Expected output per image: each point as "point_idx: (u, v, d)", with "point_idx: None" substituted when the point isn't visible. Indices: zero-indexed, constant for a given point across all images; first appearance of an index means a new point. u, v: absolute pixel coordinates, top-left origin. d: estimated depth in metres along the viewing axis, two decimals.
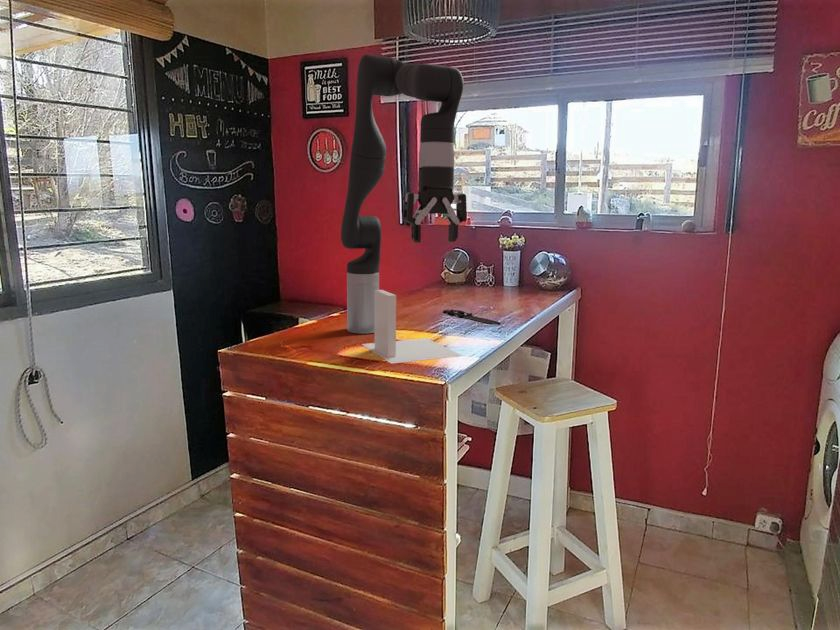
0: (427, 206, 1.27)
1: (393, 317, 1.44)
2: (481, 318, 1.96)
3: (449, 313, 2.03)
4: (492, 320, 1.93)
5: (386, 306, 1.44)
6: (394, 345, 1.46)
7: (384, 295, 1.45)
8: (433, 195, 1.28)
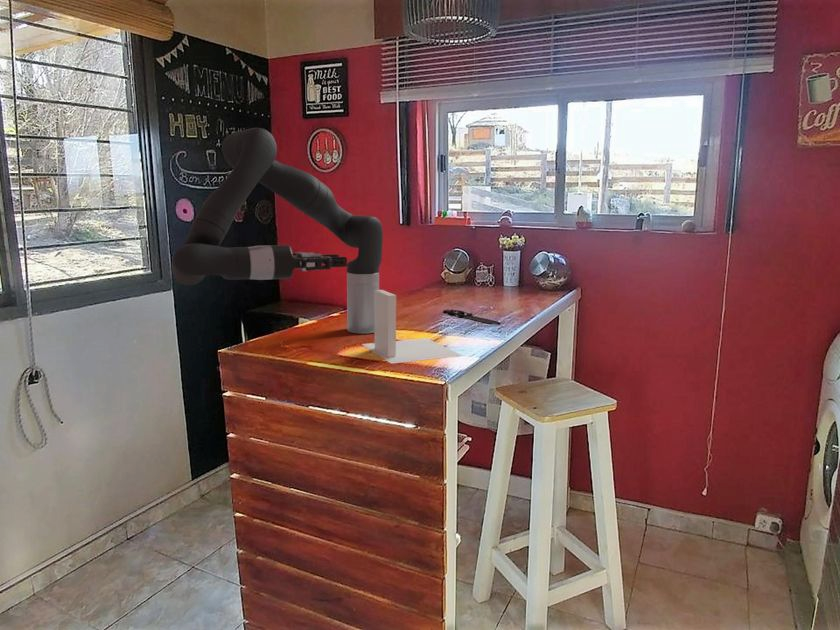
0: None
1: (393, 317, 1.44)
2: (481, 318, 1.96)
3: (449, 313, 2.03)
4: (492, 320, 1.93)
5: (386, 306, 1.44)
6: (394, 345, 1.46)
7: (384, 295, 1.45)
8: None
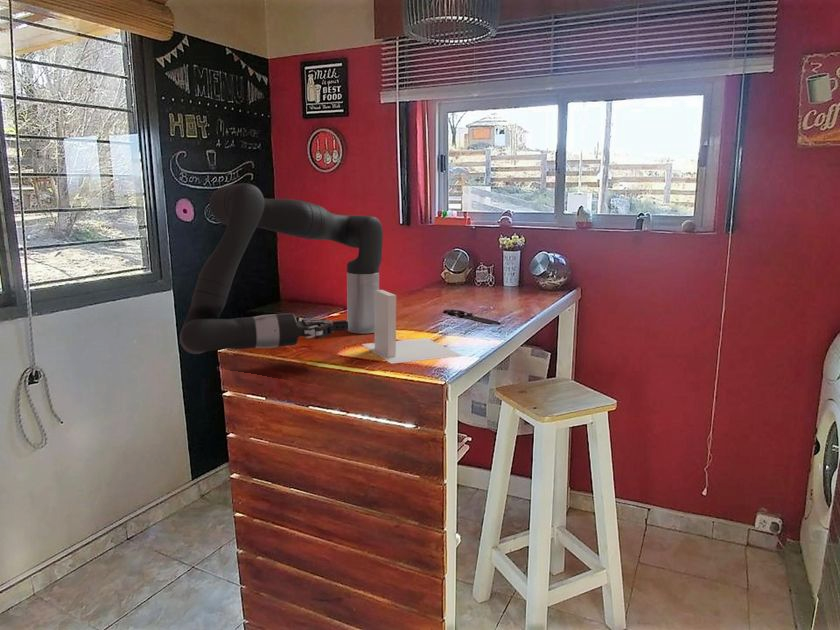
0: None
1: (393, 317, 1.44)
2: (481, 318, 1.96)
3: (449, 313, 2.03)
4: (492, 320, 1.93)
5: (386, 306, 1.44)
6: (394, 345, 1.46)
7: (384, 295, 1.45)
8: None
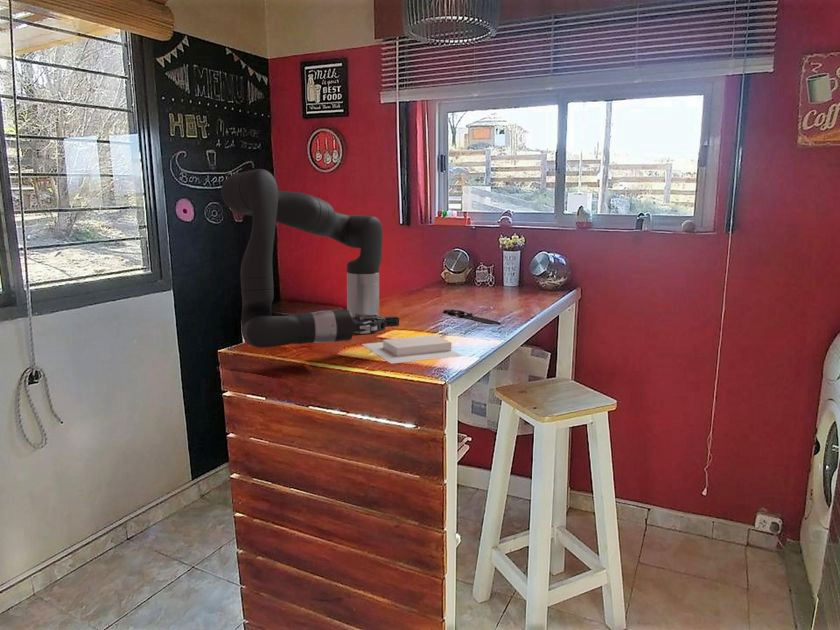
0: None
1: (432, 349, 1.50)
2: (481, 318, 1.96)
3: (449, 313, 2.03)
4: (492, 320, 1.93)
5: (440, 342, 1.52)
6: (407, 353, 1.47)
7: (445, 340, 1.54)
8: None
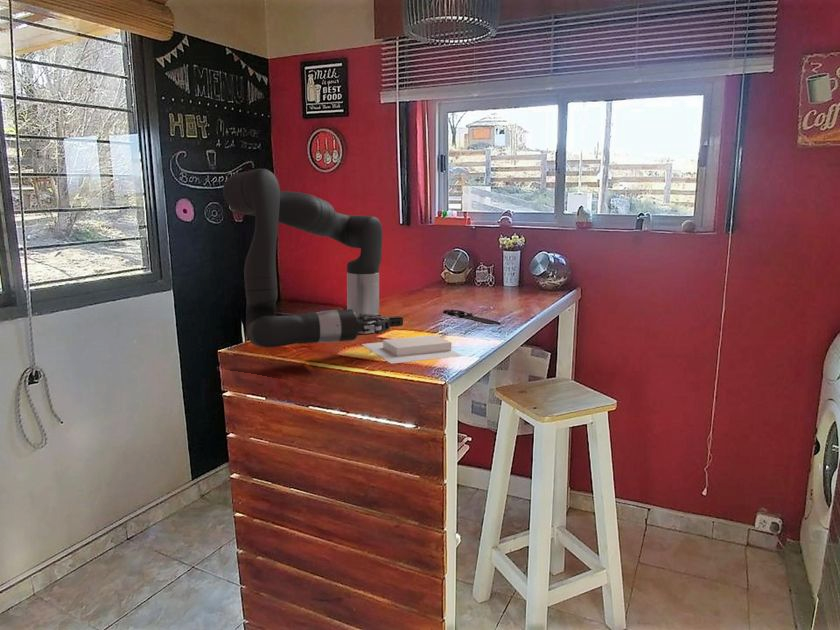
0: None
1: (432, 349, 1.50)
2: (481, 318, 1.96)
3: (449, 313, 2.03)
4: (492, 320, 1.93)
5: (440, 342, 1.52)
6: (407, 353, 1.47)
7: (445, 340, 1.54)
8: None
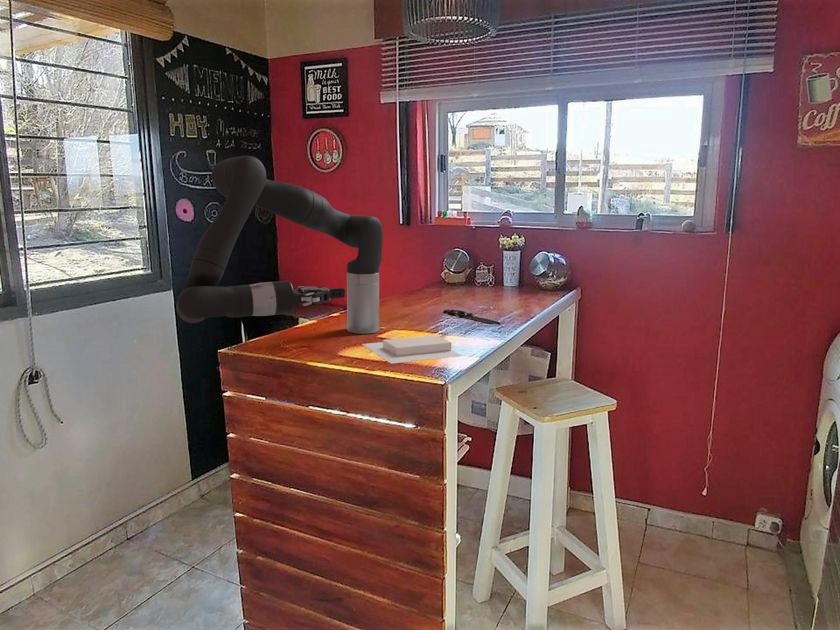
0: None
1: (432, 349, 1.50)
2: (481, 318, 1.96)
3: (449, 313, 2.03)
4: (492, 320, 1.93)
5: (440, 342, 1.52)
6: (407, 353, 1.47)
7: (445, 340, 1.54)
8: None
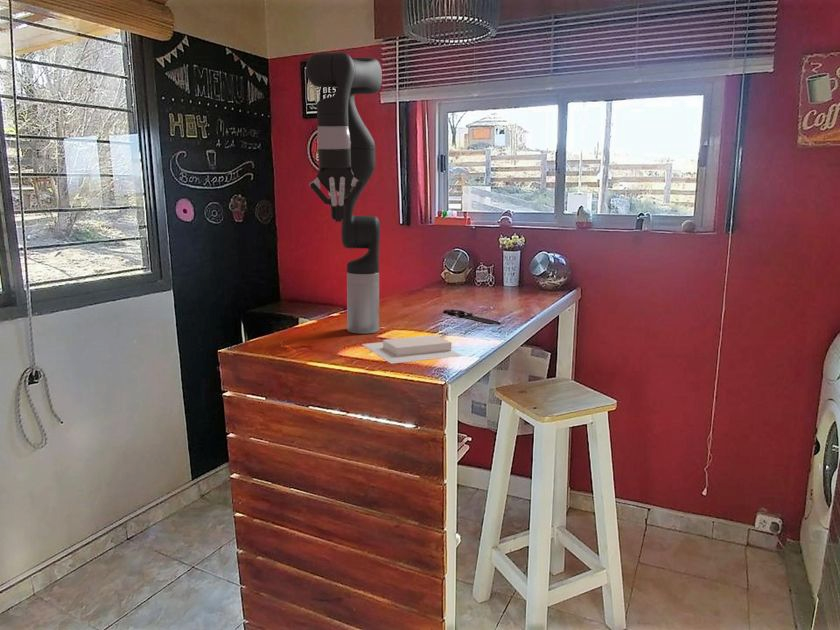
0: (330, 187, 1.41)
1: (432, 349, 1.50)
2: (481, 318, 1.96)
3: (449, 313, 2.03)
4: (492, 320, 1.93)
5: (440, 342, 1.52)
6: (407, 353, 1.47)
7: (445, 340, 1.54)
8: (331, 174, 1.40)
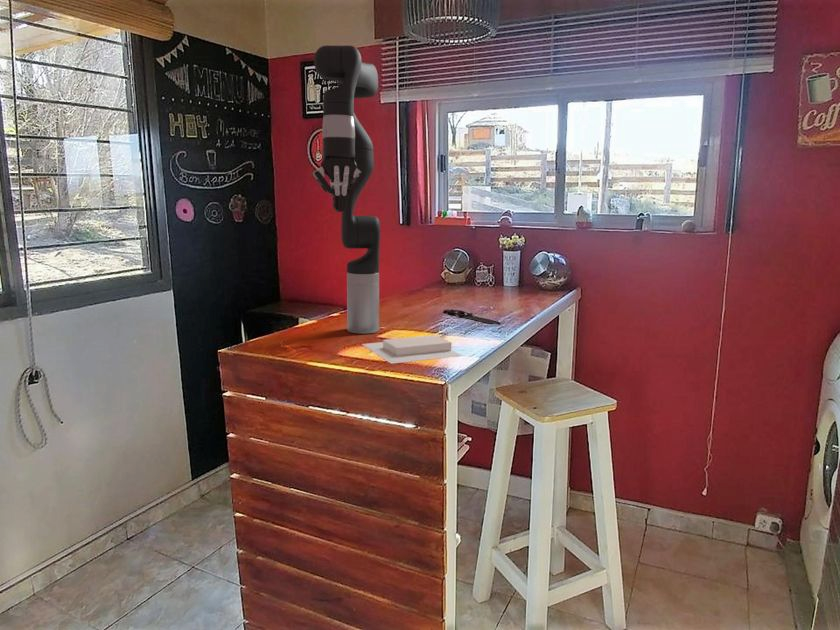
0: (335, 176, 1.41)
1: (432, 349, 1.50)
2: (481, 318, 1.96)
3: (449, 313, 2.03)
4: (492, 320, 1.93)
5: (440, 342, 1.52)
6: (407, 353, 1.47)
7: (445, 340, 1.54)
8: (336, 164, 1.41)
